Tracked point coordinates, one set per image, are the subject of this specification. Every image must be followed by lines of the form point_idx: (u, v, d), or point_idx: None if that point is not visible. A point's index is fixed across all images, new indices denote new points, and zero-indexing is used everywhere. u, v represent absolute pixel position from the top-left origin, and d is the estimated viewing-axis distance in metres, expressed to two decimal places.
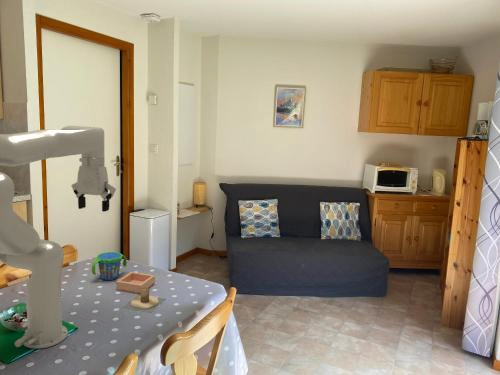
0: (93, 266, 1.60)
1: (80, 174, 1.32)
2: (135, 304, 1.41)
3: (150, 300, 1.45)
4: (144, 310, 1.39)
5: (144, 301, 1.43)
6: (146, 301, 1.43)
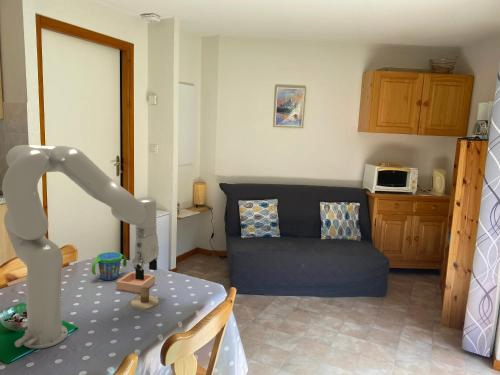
0: (93, 266, 1.60)
1: (148, 245, 1.37)
2: (135, 304, 1.41)
3: (150, 300, 1.45)
4: (144, 310, 1.39)
5: (144, 301, 1.43)
6: (146, 301, 1.43)
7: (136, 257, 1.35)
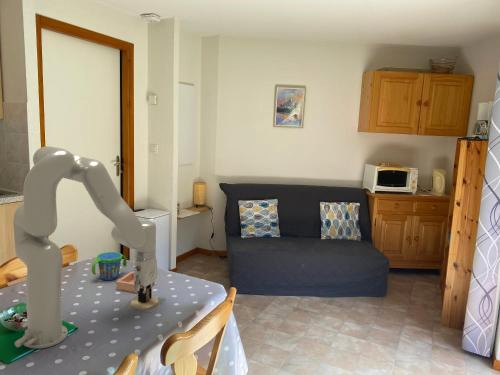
0: (93, 266, 1.60)
1: (147, 268, 1.38)
2: (135, 304, 1.41)
3: (149, 300, 1.45)
4: (144, 310, 1.39)
5: None
6: (146, 301, 1.43)
7: (137, 284, 1.38)
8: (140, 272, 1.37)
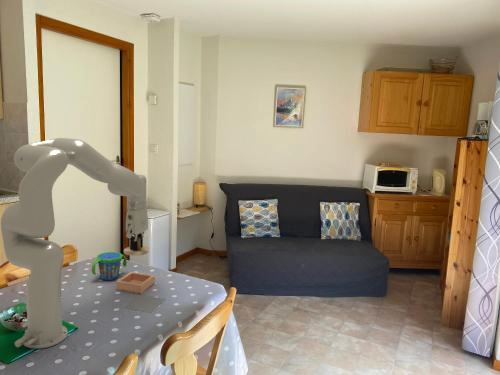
0: (93, 266, 1.60)
1: (138, 217, 1.50)
2: (127, 251, 1.53)
3: (141, 249, 1.57)
4: (144, 310, 1.39)
5: None
6: (138, 249, 1.55)
7: (128, 231, 1.49)
8: (131, 220, 1.49)
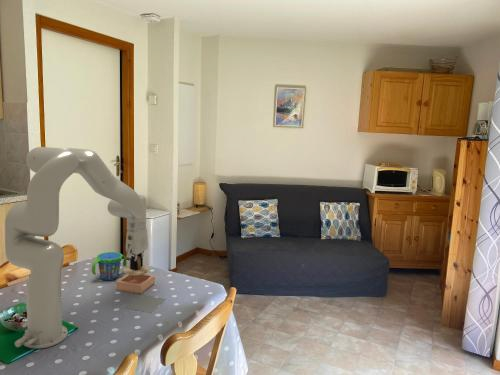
0: (93, 266, 1.60)
1: (138, 238, 1.52)
2: (127, 271, 1.55)
3: (141, 268, 1.58)
4: (144, 310, 1.39)
5: None
6: (138, 268, 1.56)
7: (128, 252, 1.51)
8: (131, 241, 1.51)
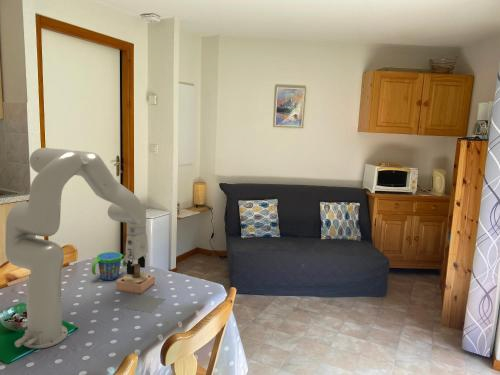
0: (93, 266, 1.60)
1: (137, 242, 1.52)
2: (127, 279, 1.55)
3: (140, 276, 1.58)
4: (144, 310, 1.39)
5: (135, 276, 1.56)
6: (137, 276, 1.57)
7: (127, 254, 1.50)
8: (131, 246, 1.51)
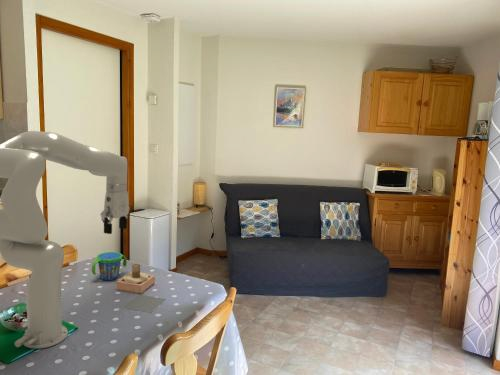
0: (93, 266, 1.60)
1: (117, 200, 1.44)
2: (127, 279, 1.55)
3: (140, 276, 1.58)
4: (144, 310, 1.39)
5: (135, 276, 1.56)
6: (137, 276, 1.57)
7: (104, 210, 1.41)
8: (110, 203, 1.42)
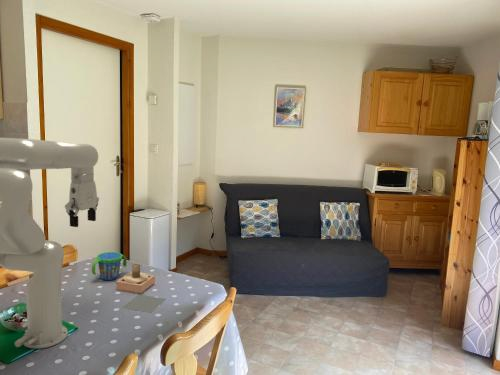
0: (93, 266, 1.60)
1: (82, 191, 1.35)
2: (127, 279, 1.55)
3: (140, 276, 1.58)
4: (144, 310, 1.39)
5: (135, 276, 1.56)
6: (137, 276, 1.57)
7: (69, 202, 1.33)
8: (75, 194, 1.34)
